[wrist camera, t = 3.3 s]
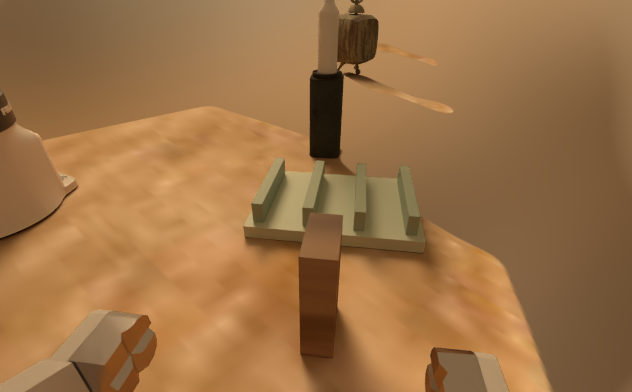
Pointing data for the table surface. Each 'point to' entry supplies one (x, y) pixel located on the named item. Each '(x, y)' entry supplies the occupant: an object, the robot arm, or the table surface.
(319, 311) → the block
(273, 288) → the table surface
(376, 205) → the rack
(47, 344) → the table surface
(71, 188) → the robot arm
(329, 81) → the candle
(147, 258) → the table surface
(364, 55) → the tabletop clock
